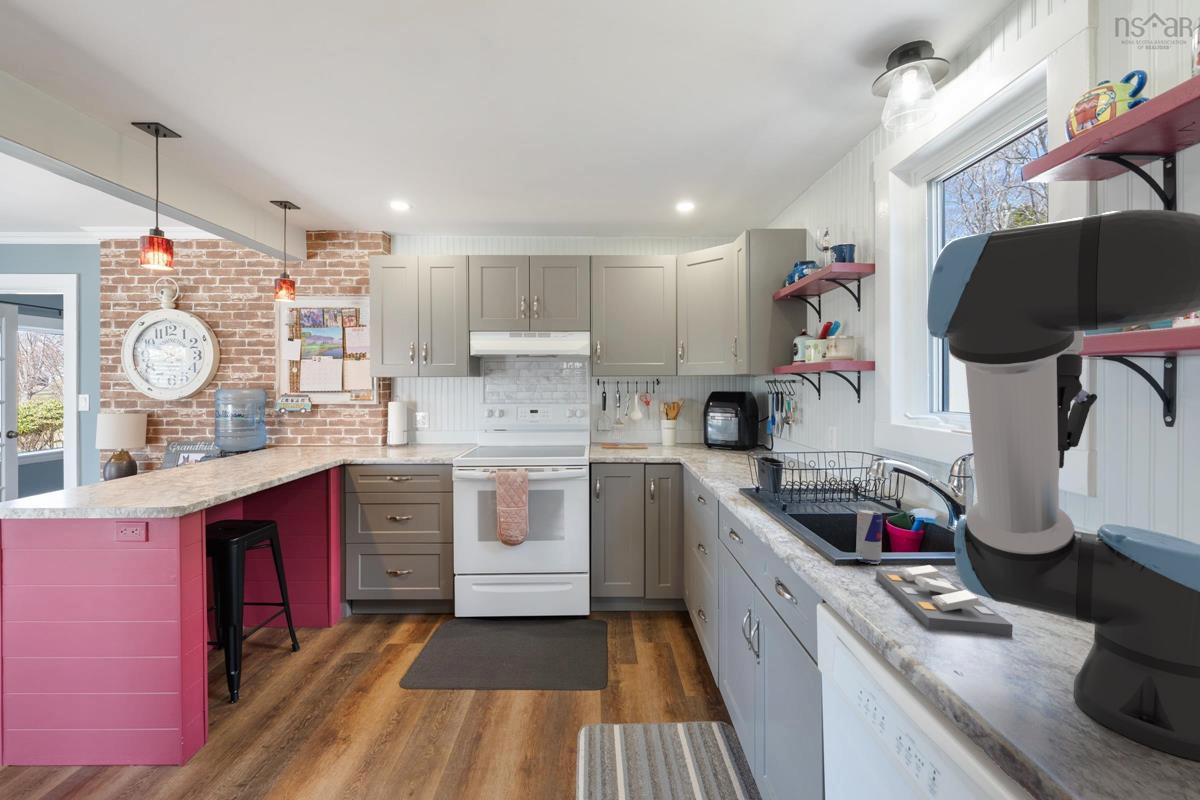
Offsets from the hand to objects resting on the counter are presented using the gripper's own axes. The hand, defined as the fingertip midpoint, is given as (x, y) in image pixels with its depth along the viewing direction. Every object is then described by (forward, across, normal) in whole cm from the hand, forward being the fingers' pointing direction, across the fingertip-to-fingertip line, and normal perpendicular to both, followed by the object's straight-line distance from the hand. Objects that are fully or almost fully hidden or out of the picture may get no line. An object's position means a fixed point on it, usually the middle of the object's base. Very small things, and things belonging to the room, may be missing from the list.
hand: (1048, 485), depth 93 cm
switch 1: (+21, +16, -11) cm, 29 cm away
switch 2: (+21, +16, -4) cm, 27 cm away
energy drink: (+25, +20, -28) cm, 42 cm away
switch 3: (+21, +16, +3) cm, 26 cm away
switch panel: (+24, +16, -4) cm, 29 cm away
